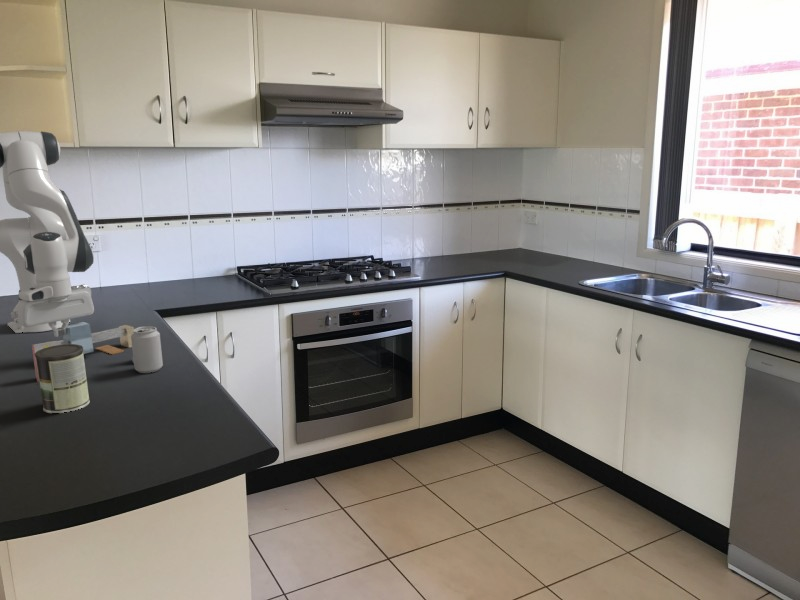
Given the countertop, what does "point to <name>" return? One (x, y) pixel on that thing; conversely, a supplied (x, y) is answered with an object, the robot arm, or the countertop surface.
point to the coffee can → (62, 378)
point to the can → (146, 349)
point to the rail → (121, 332)
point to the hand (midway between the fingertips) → (60, 335)
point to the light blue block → (80, 335)
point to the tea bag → (38, 347)
